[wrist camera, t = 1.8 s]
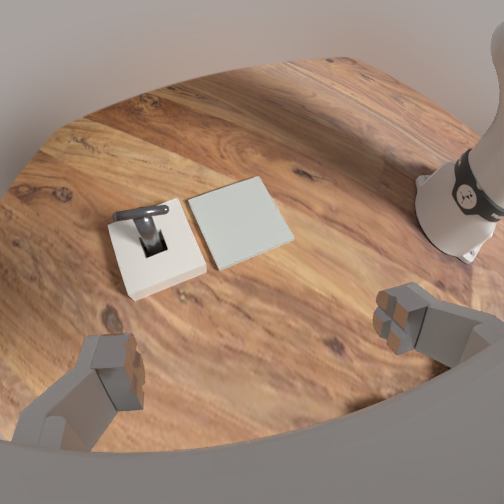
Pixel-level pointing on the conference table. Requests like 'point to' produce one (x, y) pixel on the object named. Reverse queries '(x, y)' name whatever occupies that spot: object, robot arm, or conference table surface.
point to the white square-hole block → (162, 264)
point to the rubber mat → (239, 222)
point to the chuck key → (145, 225)
